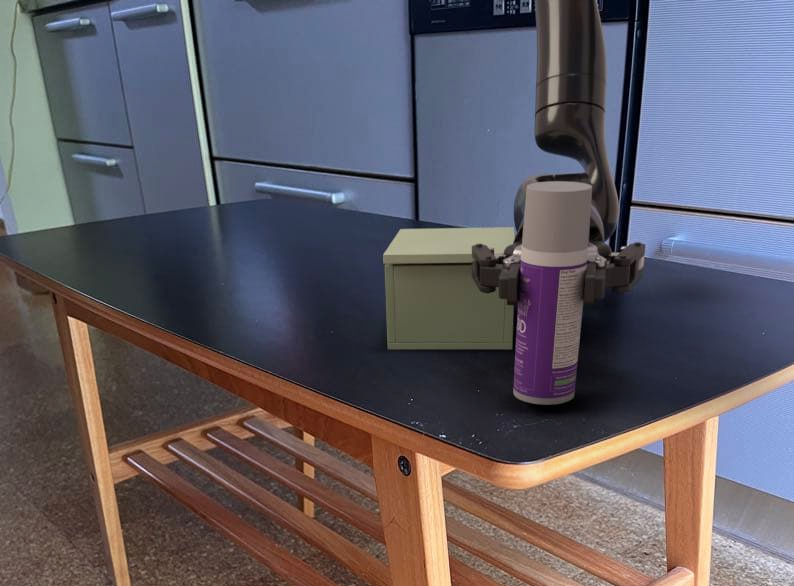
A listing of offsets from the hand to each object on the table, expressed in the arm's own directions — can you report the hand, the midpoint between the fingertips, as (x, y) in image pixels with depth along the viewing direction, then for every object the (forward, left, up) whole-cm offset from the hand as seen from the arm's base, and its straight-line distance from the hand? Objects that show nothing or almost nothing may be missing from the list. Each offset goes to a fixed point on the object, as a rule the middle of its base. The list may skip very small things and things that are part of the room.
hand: (550, 290), depth 61 cm
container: (0, -2, -9) cm, 9 cm away
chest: (+8, -24, -9) cm, 27 cm away
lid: (+8, -23, -1) cm, 25 cm away
